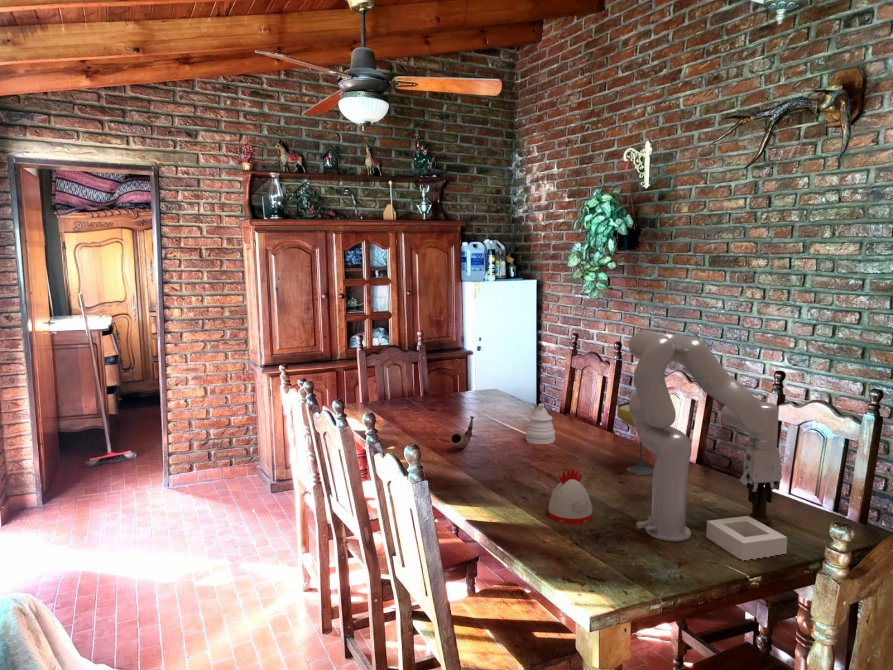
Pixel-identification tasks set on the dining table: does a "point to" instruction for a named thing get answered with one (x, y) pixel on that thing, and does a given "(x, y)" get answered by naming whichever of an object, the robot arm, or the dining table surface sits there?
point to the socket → (746, 537)
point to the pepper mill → (761, 507)
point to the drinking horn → (462, 441)
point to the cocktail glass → (626, 417)
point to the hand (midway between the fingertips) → (759, 501)
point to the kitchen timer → (570, 500)
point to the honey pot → (540, 427)
